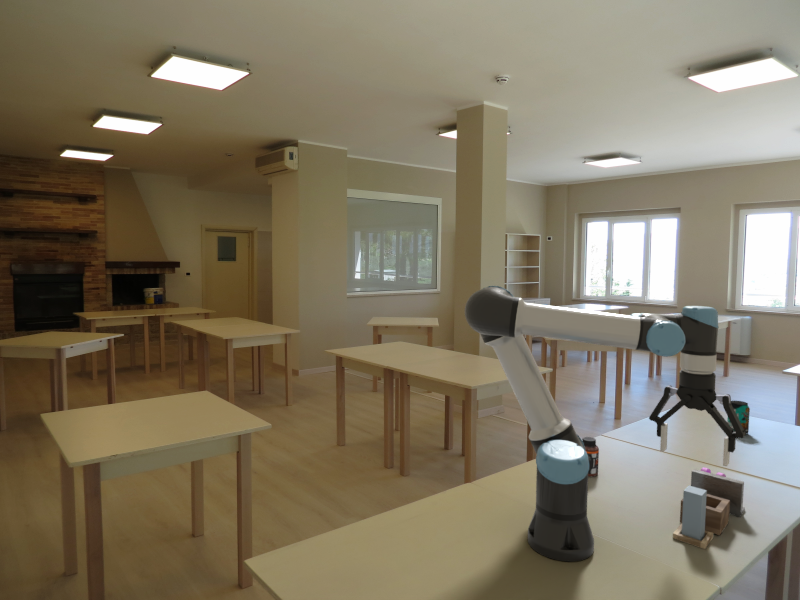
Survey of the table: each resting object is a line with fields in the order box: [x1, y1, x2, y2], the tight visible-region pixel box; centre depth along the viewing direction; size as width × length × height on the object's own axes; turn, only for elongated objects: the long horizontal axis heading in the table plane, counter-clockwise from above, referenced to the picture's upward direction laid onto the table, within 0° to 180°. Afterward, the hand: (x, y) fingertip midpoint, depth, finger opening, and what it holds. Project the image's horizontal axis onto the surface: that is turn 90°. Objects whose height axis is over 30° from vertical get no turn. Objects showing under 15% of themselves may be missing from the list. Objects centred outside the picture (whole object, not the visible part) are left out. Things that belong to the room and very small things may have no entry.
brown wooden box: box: [679, 494, 730, 536], centre depth 134 cm, size 9×9×6 cm
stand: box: [672, 523, 714, 550], centre depth 127 cm, size 7×7×1 cm
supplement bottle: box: [581, 436, 600, 478], centre depth 164 cm, size 6×6×11 cm
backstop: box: [690, 468, 746, 518], centre depth 143 cm, size 5×12×9 cm, turn 46°
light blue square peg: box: [682, 485, 707, 541], centre depth 126 cm, size 4×4×12 cm
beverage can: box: [726, 400, 751, 436], centre depth 203 cm, size 7×7×12 cm
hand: (693, 457), depth 126 cm, fingers open, 13 cm apart
